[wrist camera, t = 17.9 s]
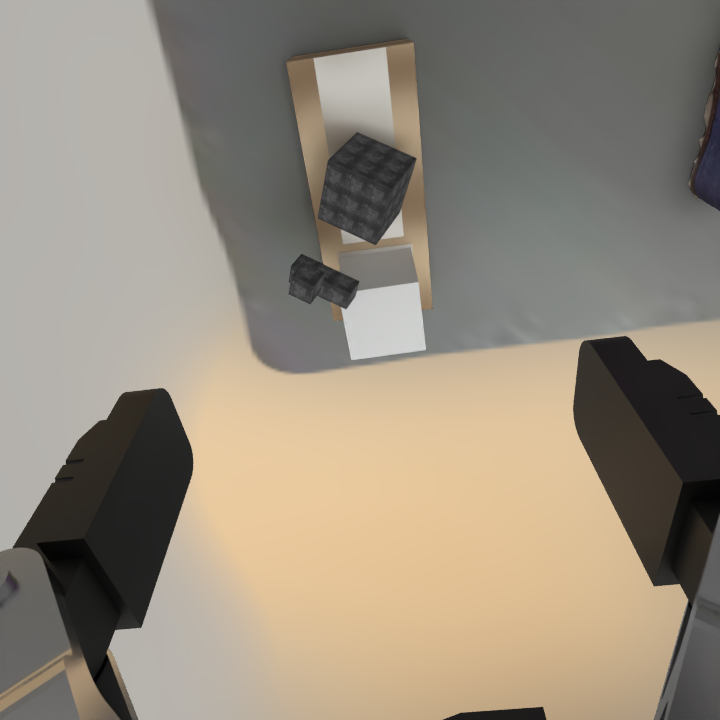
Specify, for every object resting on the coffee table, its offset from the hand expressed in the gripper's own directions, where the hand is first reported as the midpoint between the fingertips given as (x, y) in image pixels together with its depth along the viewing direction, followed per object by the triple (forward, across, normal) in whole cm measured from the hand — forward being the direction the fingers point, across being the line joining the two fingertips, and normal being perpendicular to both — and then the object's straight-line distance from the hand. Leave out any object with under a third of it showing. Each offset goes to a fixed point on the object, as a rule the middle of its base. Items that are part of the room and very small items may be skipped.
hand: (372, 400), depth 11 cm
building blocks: (+18, +1, +4) cm, 18 cm away
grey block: (+20, 0, +8) cm, 22 cm away
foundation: (+24, 0, +3) cm, 24 cm away
